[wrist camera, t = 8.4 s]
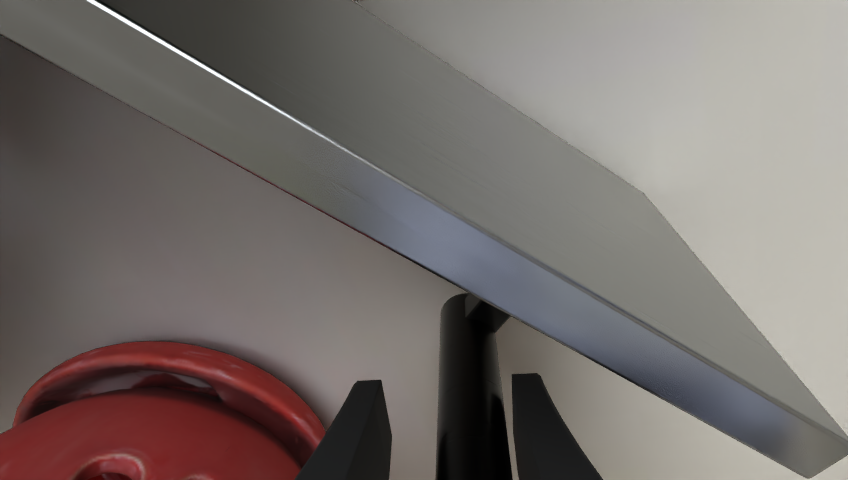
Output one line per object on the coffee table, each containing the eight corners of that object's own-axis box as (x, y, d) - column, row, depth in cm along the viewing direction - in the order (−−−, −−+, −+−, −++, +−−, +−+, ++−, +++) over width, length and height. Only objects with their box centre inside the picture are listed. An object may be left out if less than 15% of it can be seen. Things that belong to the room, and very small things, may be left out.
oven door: (644, 193, 14) (861, 449, 7) (504, 345, 17) (546, 644, 10) (100, -167, 11) (-680, -455, 3) (39, 97, 14) (-457, 258, 6)
